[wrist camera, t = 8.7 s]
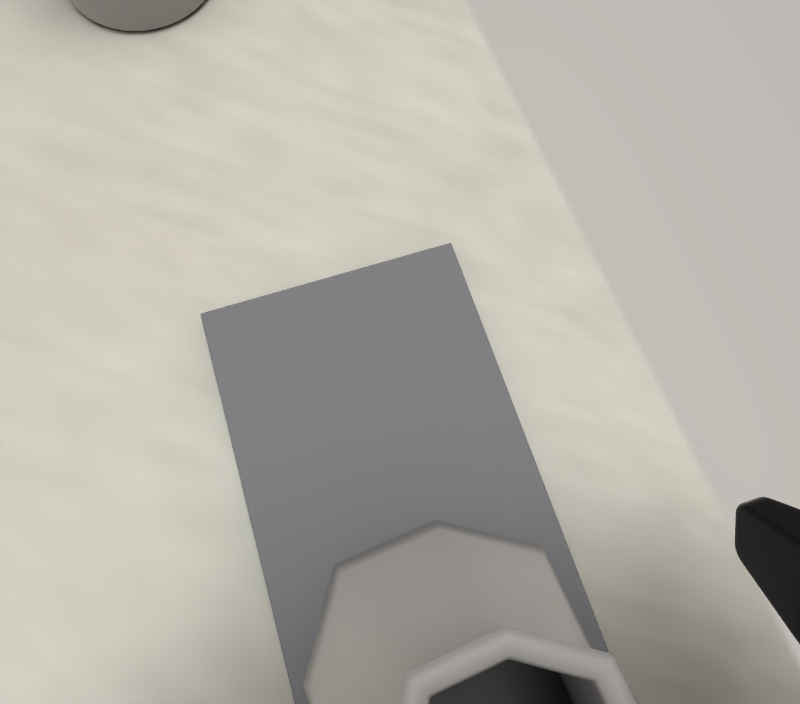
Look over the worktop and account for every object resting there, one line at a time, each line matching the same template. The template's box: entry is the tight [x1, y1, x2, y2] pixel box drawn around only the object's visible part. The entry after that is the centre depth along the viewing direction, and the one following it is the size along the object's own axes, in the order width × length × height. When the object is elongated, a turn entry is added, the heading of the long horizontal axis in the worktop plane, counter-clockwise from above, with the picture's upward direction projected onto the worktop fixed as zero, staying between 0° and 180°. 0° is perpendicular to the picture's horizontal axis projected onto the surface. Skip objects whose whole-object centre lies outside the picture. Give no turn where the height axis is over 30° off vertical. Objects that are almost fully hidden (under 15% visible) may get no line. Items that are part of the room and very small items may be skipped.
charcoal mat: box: [201, 243, 609, 704], centre depth 17 cm, size 20×8×1 cm, turn 18°
